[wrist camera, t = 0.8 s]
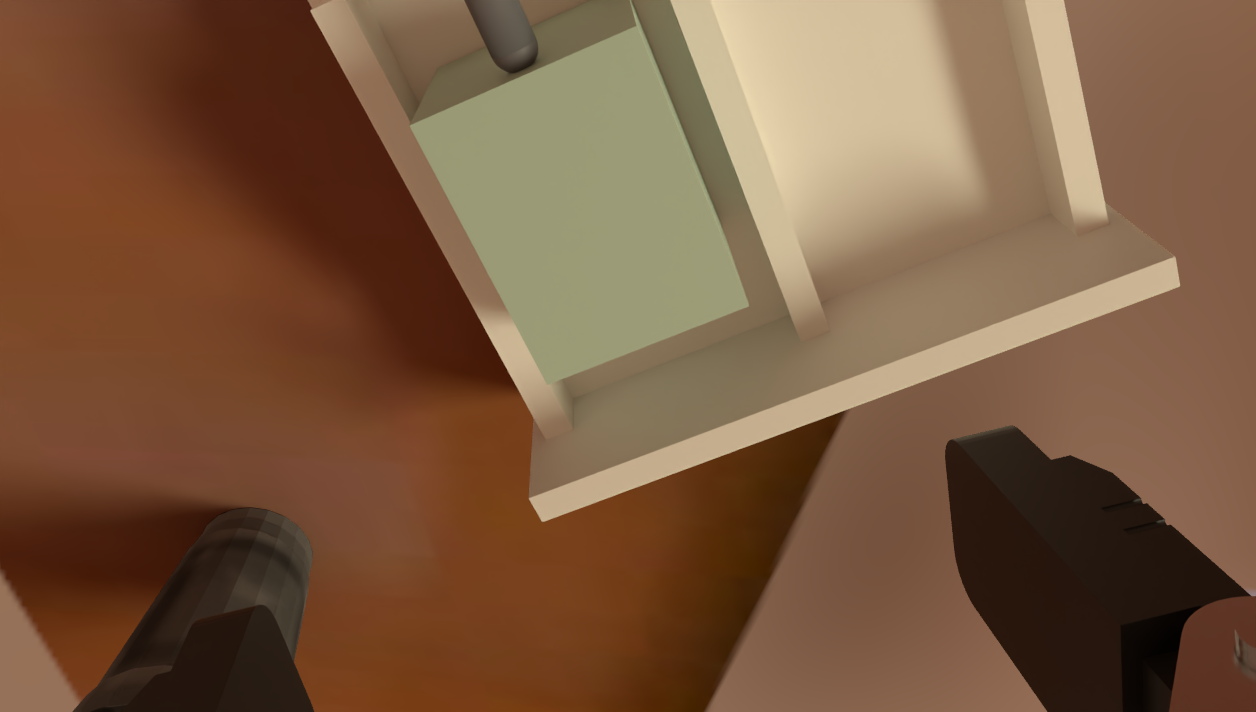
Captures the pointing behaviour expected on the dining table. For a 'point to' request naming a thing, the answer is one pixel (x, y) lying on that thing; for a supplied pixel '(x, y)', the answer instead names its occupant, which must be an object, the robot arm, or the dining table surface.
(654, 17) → the shelf
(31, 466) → the dining table surface
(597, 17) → the pull block
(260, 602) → the beverage cup
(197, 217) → the dining table surface
